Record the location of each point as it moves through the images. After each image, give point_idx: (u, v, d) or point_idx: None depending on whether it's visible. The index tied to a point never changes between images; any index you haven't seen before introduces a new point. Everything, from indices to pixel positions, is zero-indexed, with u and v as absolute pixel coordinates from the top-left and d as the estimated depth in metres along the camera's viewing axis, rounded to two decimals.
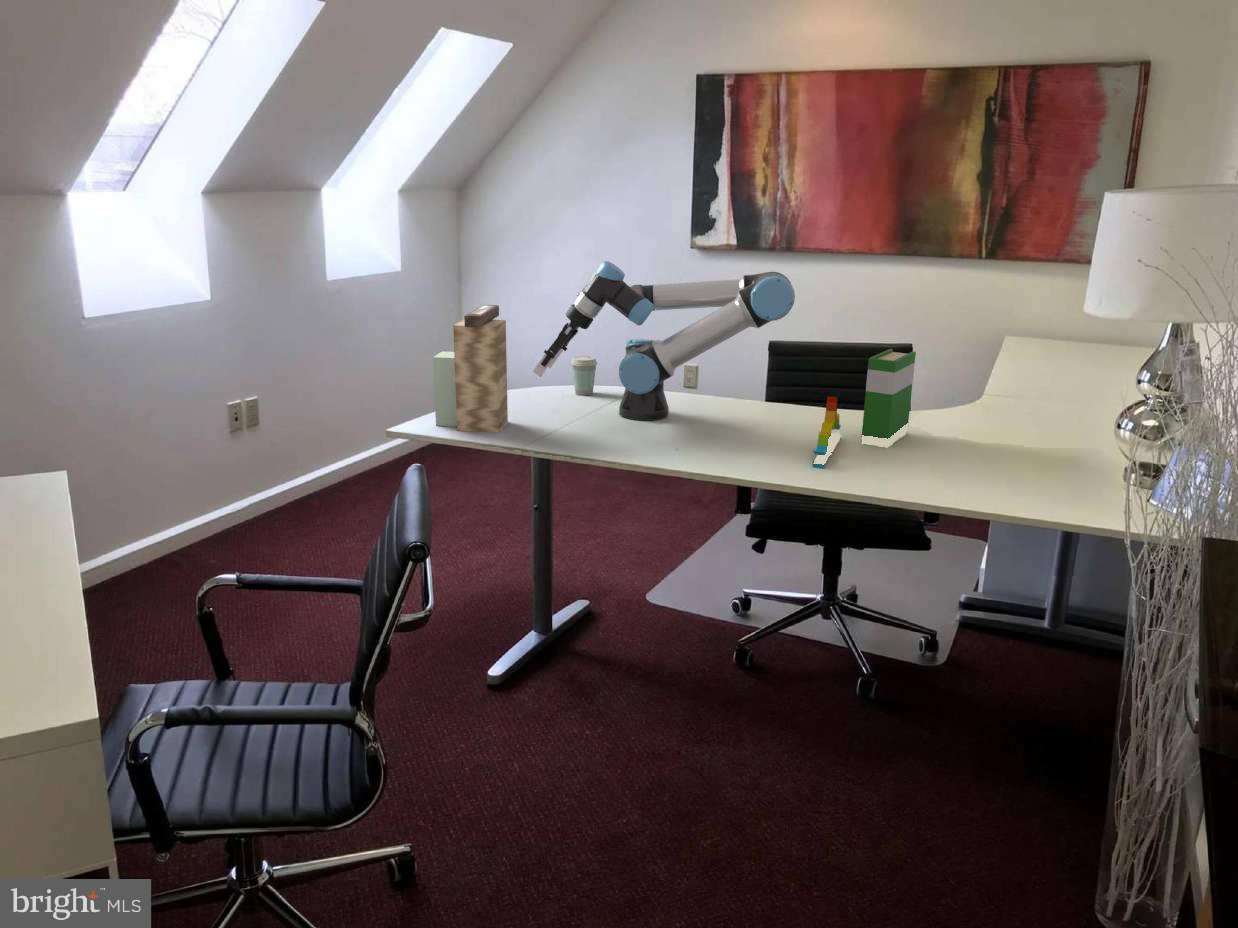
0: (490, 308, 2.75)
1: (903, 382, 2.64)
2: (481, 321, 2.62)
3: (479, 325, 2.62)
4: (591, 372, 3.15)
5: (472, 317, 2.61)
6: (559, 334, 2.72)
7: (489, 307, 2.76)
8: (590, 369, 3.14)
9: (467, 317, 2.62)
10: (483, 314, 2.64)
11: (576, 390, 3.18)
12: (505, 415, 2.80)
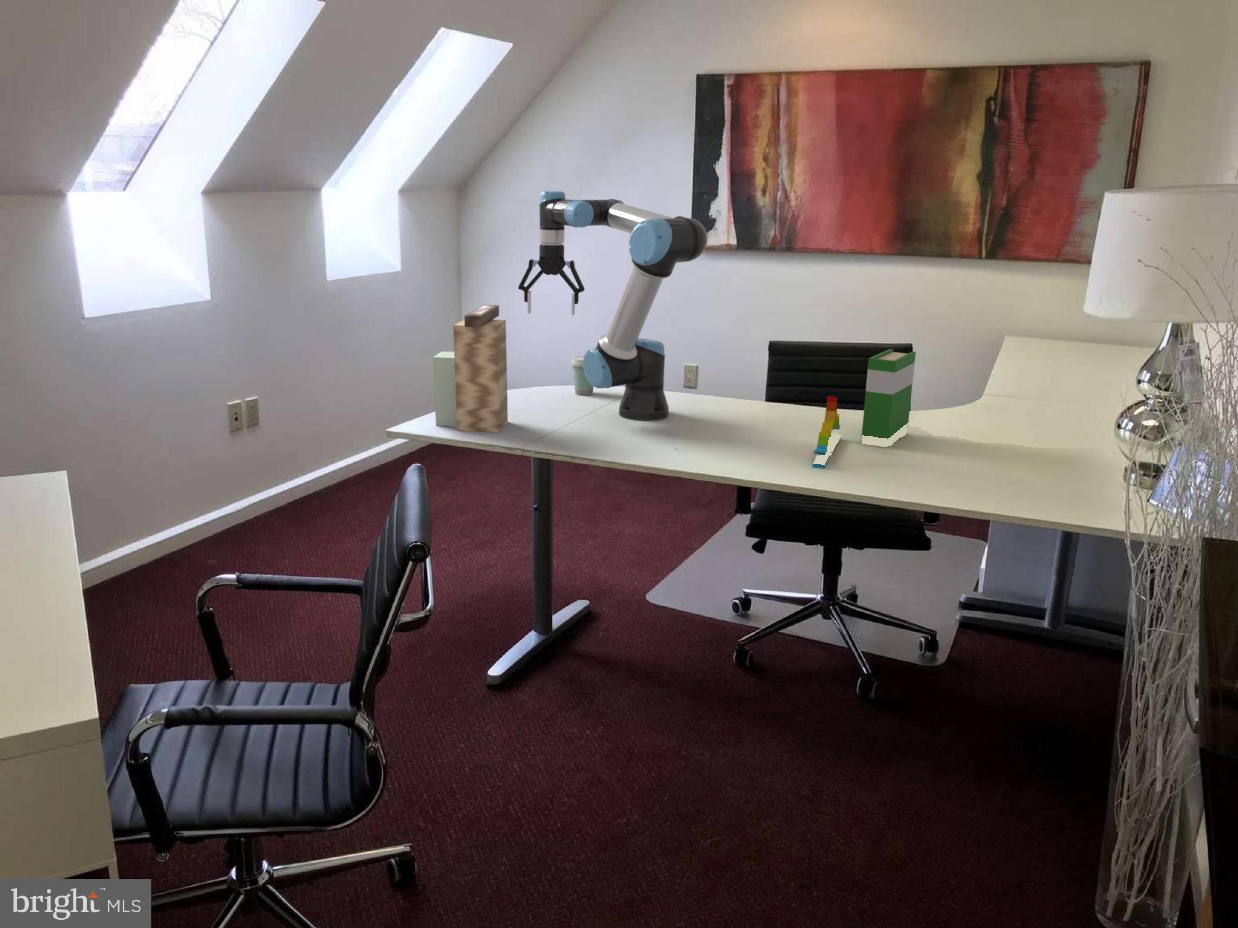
0: (490, 308, 2.75)
1: (903, 382, 2.64)
2: (481, 321, 2.62)
3: (479, 325, 2.62)
4: None
5: (472, 317, 2.61)
6: None
7: (489, 307, 2.76)
8: None
9: (467, 317, 2.62)
10: (483, 314, 2.64)
11: (576, 390, 3.18)
12: (505, 415, 2.80)
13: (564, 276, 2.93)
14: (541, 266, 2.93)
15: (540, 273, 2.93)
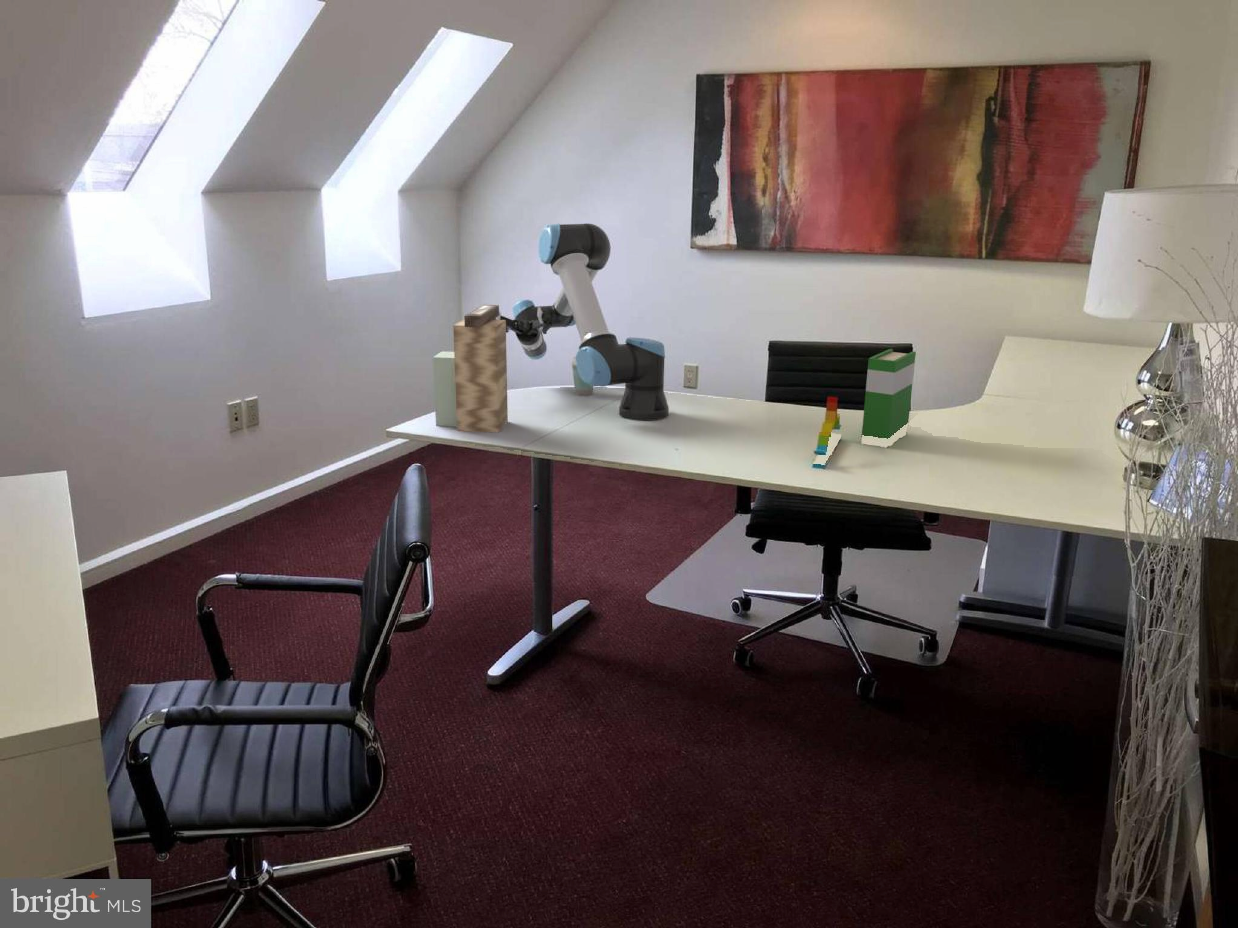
0: (490, 308, 2.75)
1: (903, 382, 2.64)
2: (481, 321, 2.62)
3: (479, 325, 2.62)
4: None
5: (472, 317, 2.61)
6: (511, 329, 3.06)
7: (489, 307, 2.76)
8: None
9: (467, 317, 2.62)
10: (483, 314, 2.64)
11: (576, 390, 3.18)
12: (505, 415, 2.80)
13: None
14: None
15: None
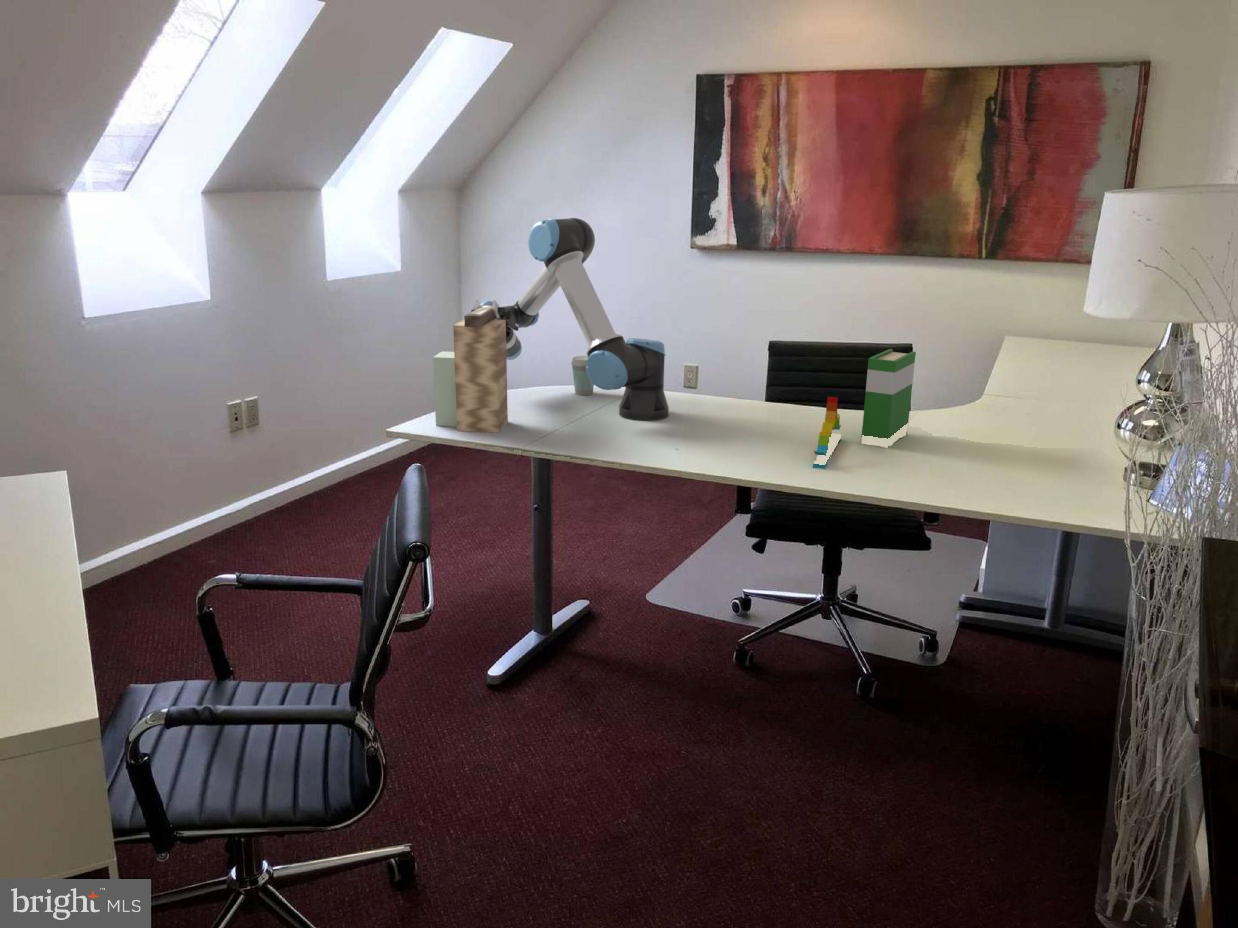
0: (490, 308, 2.75)
1: (903, 382, 2.64)
2: (481, 321, 2.62)
3: (479, 325, 2.62)
4: None
5: (472, 317, 2.61)
6: None
7: (489, 307, 2.76)
8: None
9: (467, 317, 2.62)
10: (483, 314, 2.64)
11: (576, 390, 3.18)
12: (505, 415, 2.80)
13: None
14: None
15: None
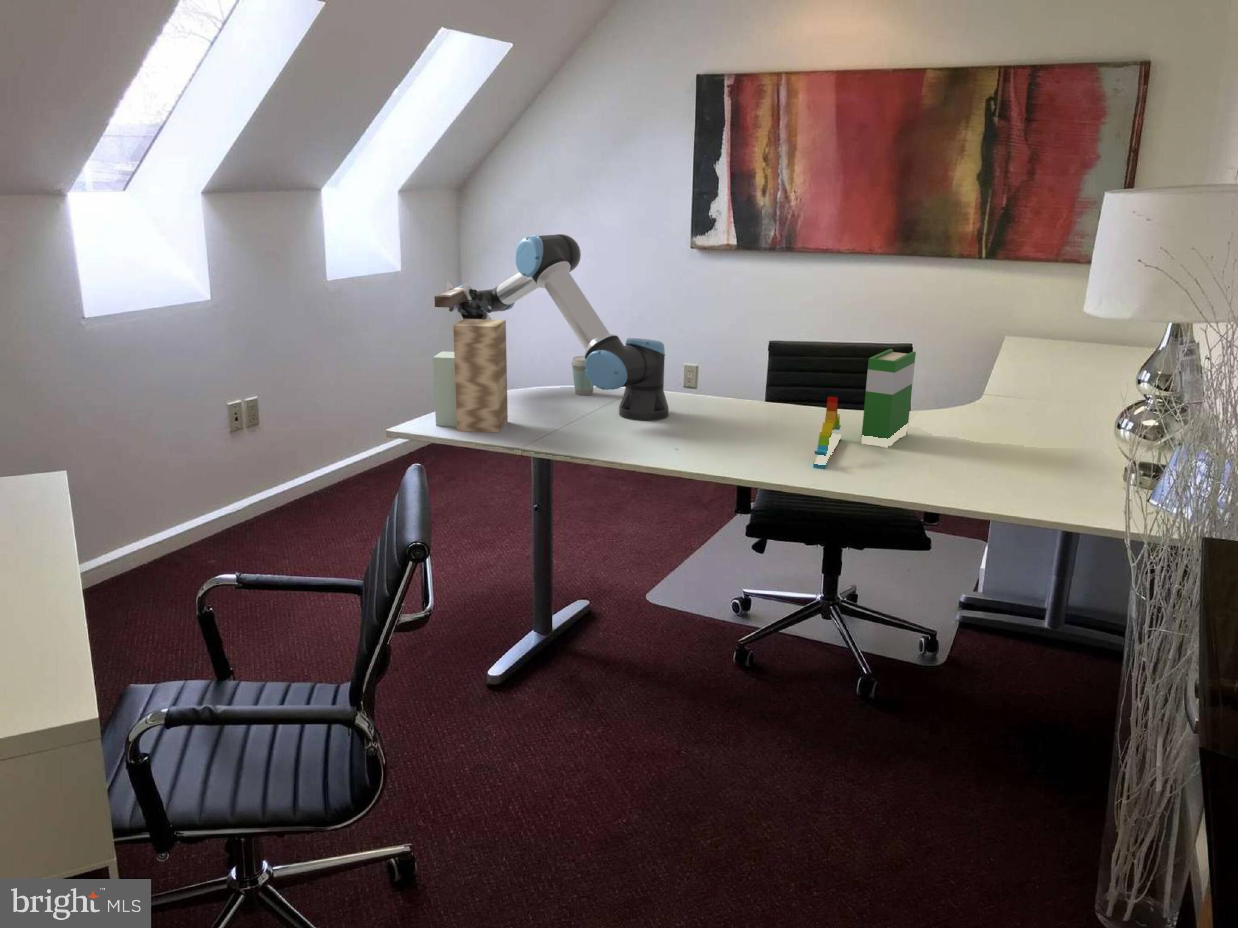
0: (461, 290, 2.82)
1: (903, 382, 2.64)
2: (451, 301, 2.70)
3: (449, 305, 2.69)
4: None
5: (442, 297, 2.69)
6: (459, 308, 2.95)
7: (461, 289, 2.84)
8: None
9: (437, 297, 2.69)
10: (453, 295, 2.72)
11: (576, 390, 3.18)
12: (505, 415, 2.80)
13: None
14: None
15: None
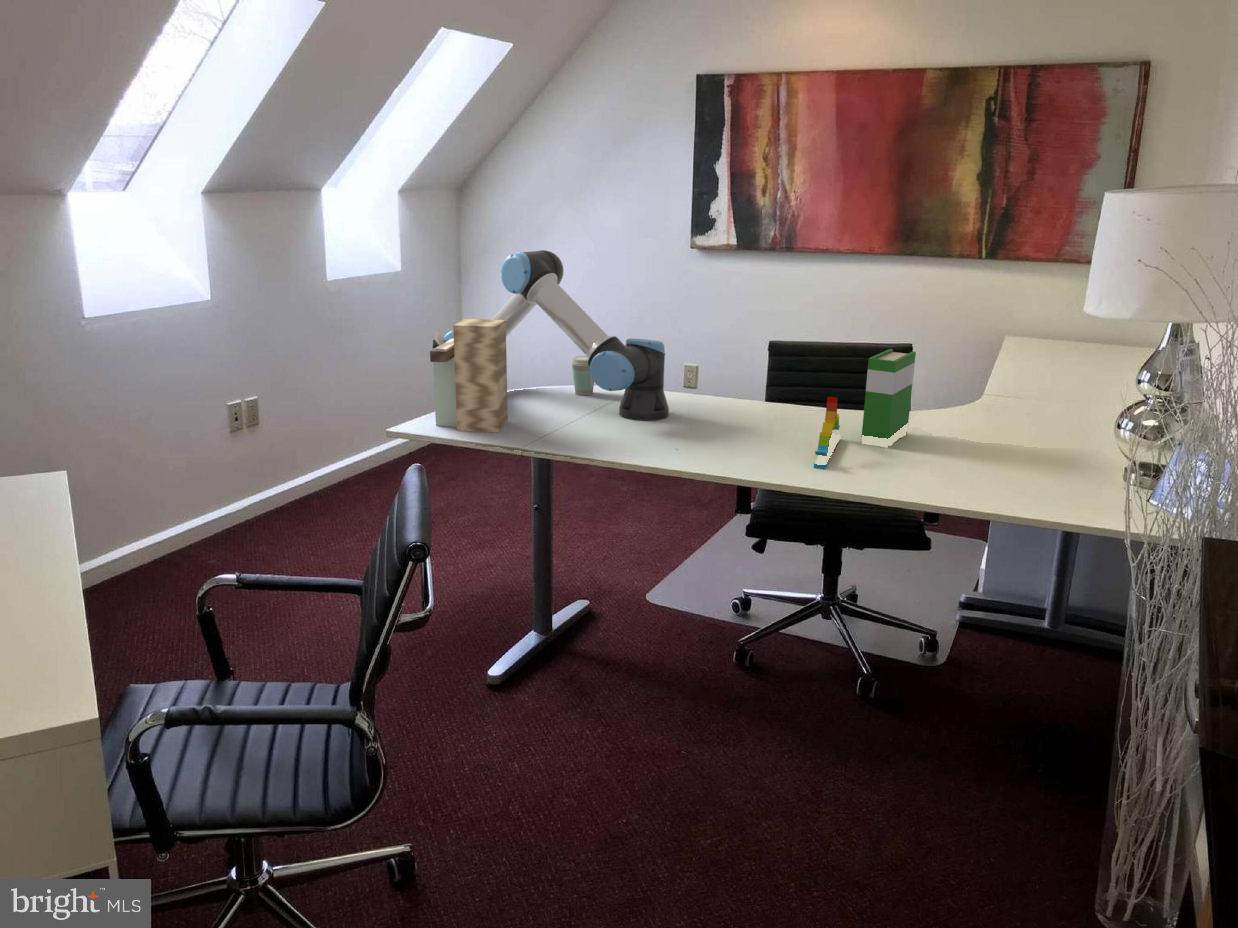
0: None
1: (903, 382, 2.64)
2: (446, 356, 2.66)
3: (444, 360, 2.66)
4: (591, 372, 3.15)
5: (437, 352, 2.65)
6: None
7: None
8: None
9: (432, 352, 2.66)
10: (449, 349, 2.68)
11: (576, 390, 3.18)
12: (505, 415, 2.80)
13: None
14: None
15: None
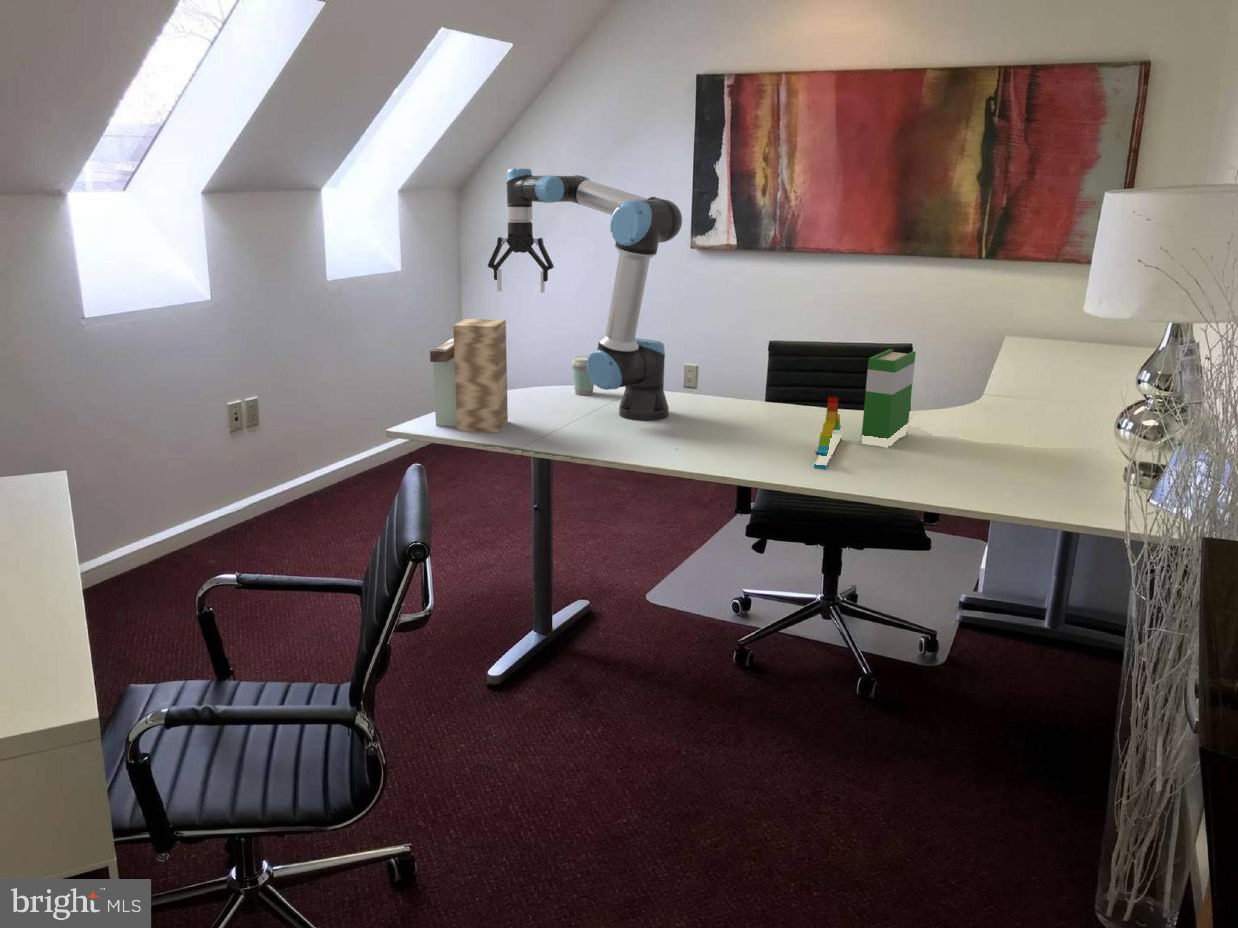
0: None
1: (903, 382, 2.64)
2: (446, 356, 2.66)
3: (444, 360, 2.66)
4: None
5: (437, 352, 2.65)
6: None
7: None
8: None
9: (432, 352, 2.66)
10: (449, 349, 2.68)
11: (576, 390, 3.18)
12: (505, 415, 2.80)
13: (532, 253, 2.94)
14: (509, 244, 2.94)
15: (508, 251, 2.94)
